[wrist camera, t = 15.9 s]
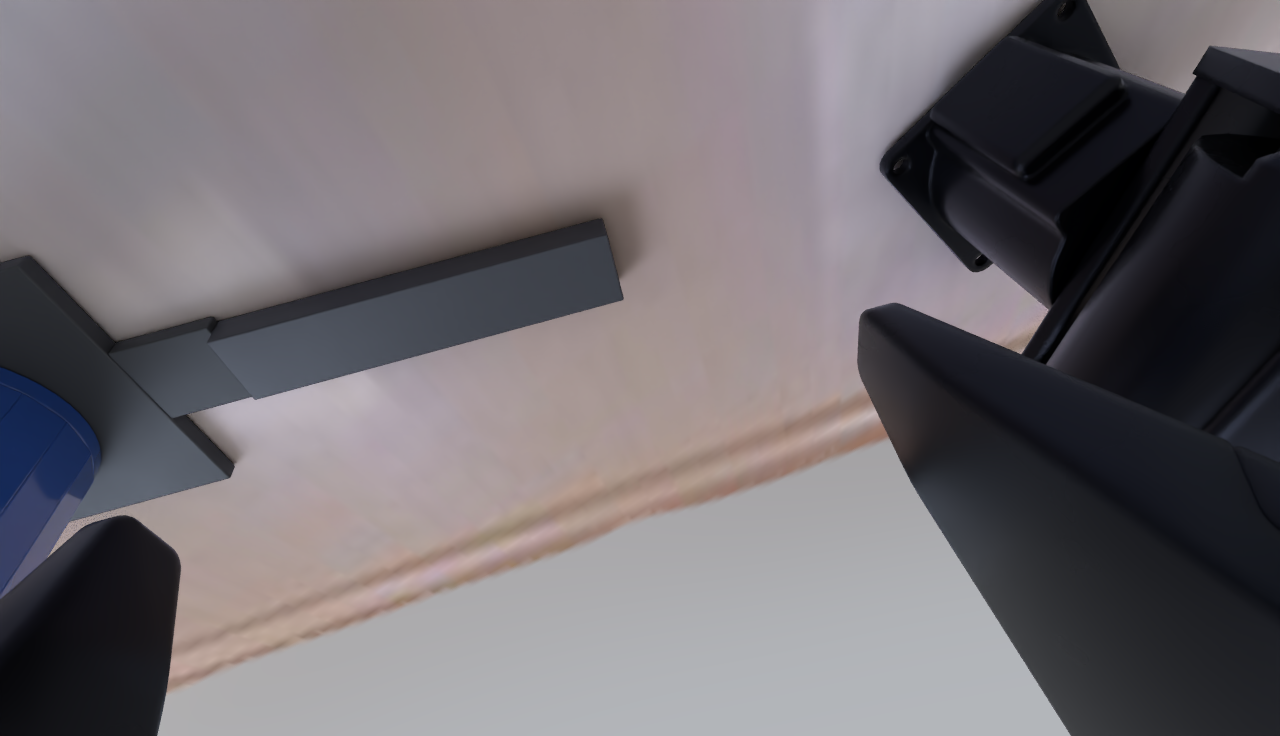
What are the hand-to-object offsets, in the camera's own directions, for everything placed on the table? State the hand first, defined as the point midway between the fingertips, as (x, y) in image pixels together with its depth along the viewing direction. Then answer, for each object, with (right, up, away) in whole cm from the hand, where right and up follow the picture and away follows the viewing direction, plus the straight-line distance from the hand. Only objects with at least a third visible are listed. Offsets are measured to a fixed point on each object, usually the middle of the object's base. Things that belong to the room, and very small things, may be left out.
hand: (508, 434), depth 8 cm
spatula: (-12, +1, +12) cm, 17 cm away
